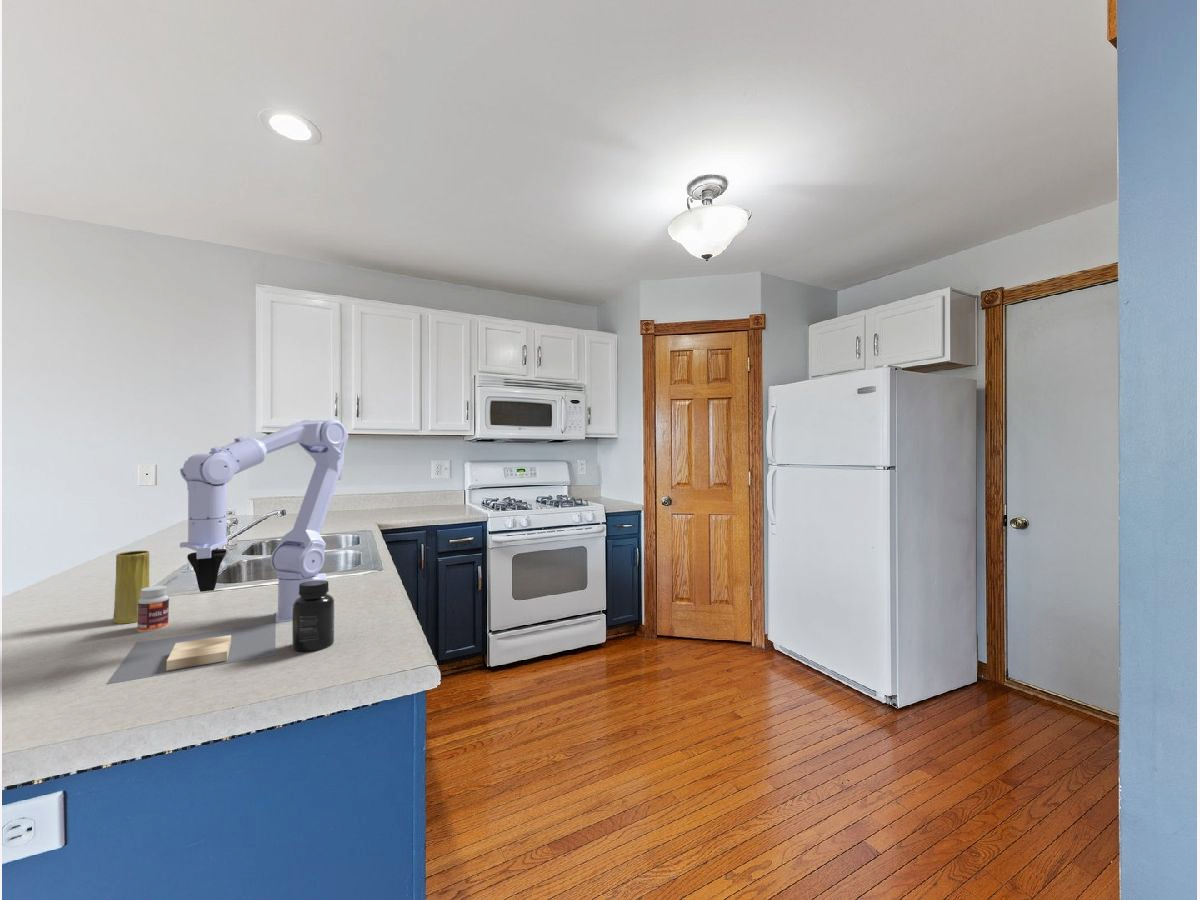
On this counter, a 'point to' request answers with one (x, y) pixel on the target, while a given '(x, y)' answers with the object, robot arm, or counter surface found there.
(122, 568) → the vase
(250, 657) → the mat
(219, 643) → the tile
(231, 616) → the counter surface
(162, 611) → the pill bottle
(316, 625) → the supplement bottle
